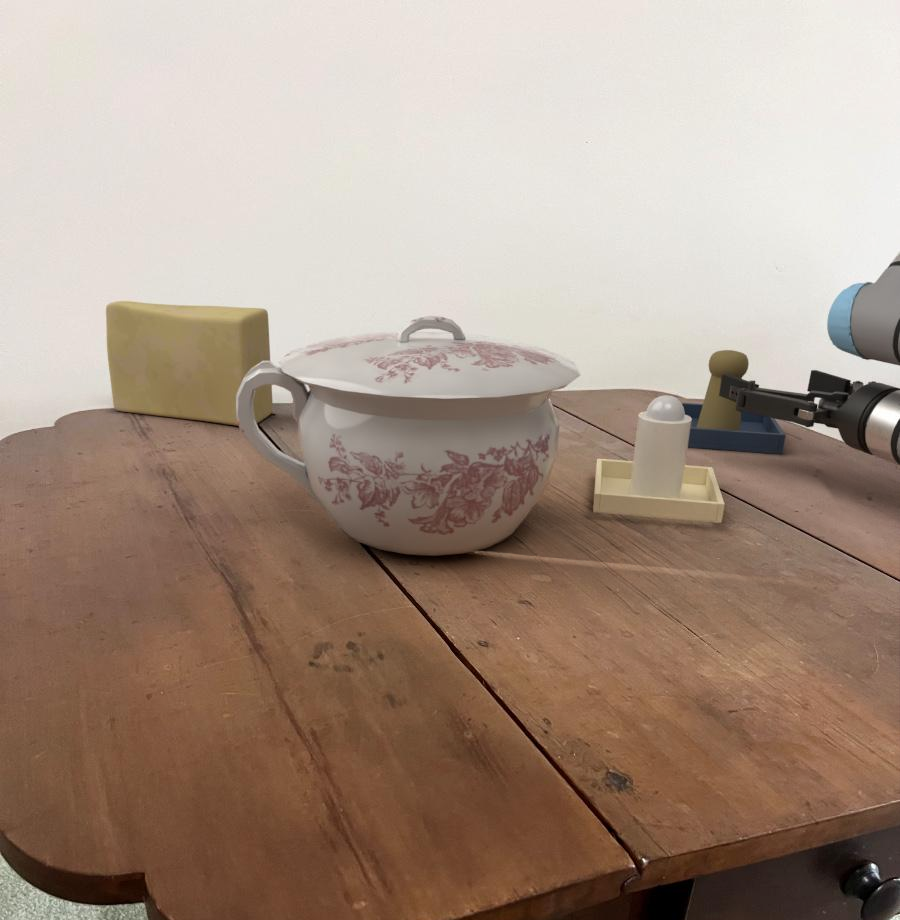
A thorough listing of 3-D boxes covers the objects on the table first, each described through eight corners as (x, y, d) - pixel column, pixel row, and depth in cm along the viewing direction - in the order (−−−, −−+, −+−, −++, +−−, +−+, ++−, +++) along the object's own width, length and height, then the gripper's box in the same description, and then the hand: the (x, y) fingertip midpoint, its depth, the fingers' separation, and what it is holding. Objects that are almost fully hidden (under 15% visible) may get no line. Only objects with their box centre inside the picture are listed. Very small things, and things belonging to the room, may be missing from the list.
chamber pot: (611, 523, 95) (634, 315, 86) (470, 617, 74) (482, 356, 65) (393, 472, 109) (394, 288, 100) (222, 539, 88) (204, 314, 79)
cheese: (98, 418, 127) (83, 305, 120) (132, 402, 135) (119, 296, 129) (251, 430, 123) (243, 314, 117) (275, 413, 132) (270, 304, 126)
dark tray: (765, 426, 135) (768, 408, 134) (782, 454, 121) (785, 435, 120) (660, 418, 137) (662, 401, 136) (665, 445, 123) (667, 426, 122)
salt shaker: (678, 491, 104) (692, 392, 99) (681, 507, 99) (697, 403, 94) (628, 487, 104) (640, 388, 100) (629, 503, 99) (641, 399, 94)
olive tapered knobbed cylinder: (709, 437, 125) (722, 355, 121) (688, 426, 131) (699, 347, 126) (748, 435, 127) (762, 354, 122) (725, 424, 132) (738, 346, 127)
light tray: (709, 488, 107) (712, 467, 106) (720, 527, 95) (724, 504, 94) (594, 479, 108) (597, 458, 107) (592, 517, 97) (594, 493, 96)
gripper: (788, 464, 98) (680, 416, 116) (968, 449, 105) (840, 406, 123) (802, 394, 94) (688, 356, 112) (986, 384, 102) (852, 350, 120)
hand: (767, 382), depth 118 cm, fingers open, 13 cm apart
